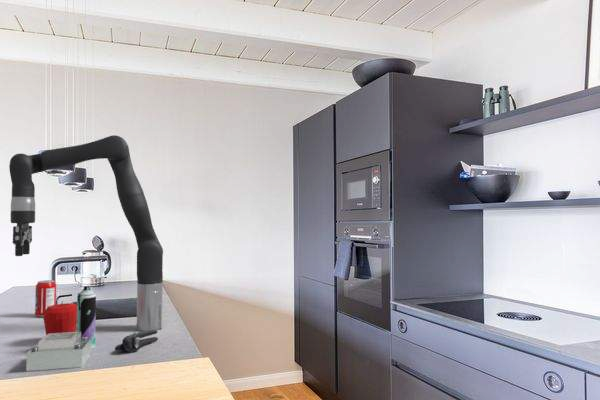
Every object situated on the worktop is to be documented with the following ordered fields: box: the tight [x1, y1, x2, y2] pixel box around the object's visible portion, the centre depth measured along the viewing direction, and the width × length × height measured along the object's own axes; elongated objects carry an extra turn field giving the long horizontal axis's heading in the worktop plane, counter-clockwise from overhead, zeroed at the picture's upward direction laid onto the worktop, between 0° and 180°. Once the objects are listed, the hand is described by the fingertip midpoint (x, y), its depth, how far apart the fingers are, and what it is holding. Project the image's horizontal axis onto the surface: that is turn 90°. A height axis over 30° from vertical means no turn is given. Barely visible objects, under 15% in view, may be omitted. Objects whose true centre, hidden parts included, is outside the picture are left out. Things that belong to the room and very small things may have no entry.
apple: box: [42, 301, 77, 336], centre depth 153 cm, size 11×10×14 cm
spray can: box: [76, 285, 97, 350], centre depth 145 cm, size 6×6×20 cm
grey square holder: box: [25, 331, 92, 372], centre depth 130 cm, size 14×12×8 cm
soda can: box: [34, 279, 57, 318], centre depth 192 cm, size 8×8×15 cm
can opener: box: [114, 329, 159, 353], centre depth 146 cm, size 18×7×6 cm, turn 161°
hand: (22, 255), depth 159 cm, fingers open, 8 cm apart
